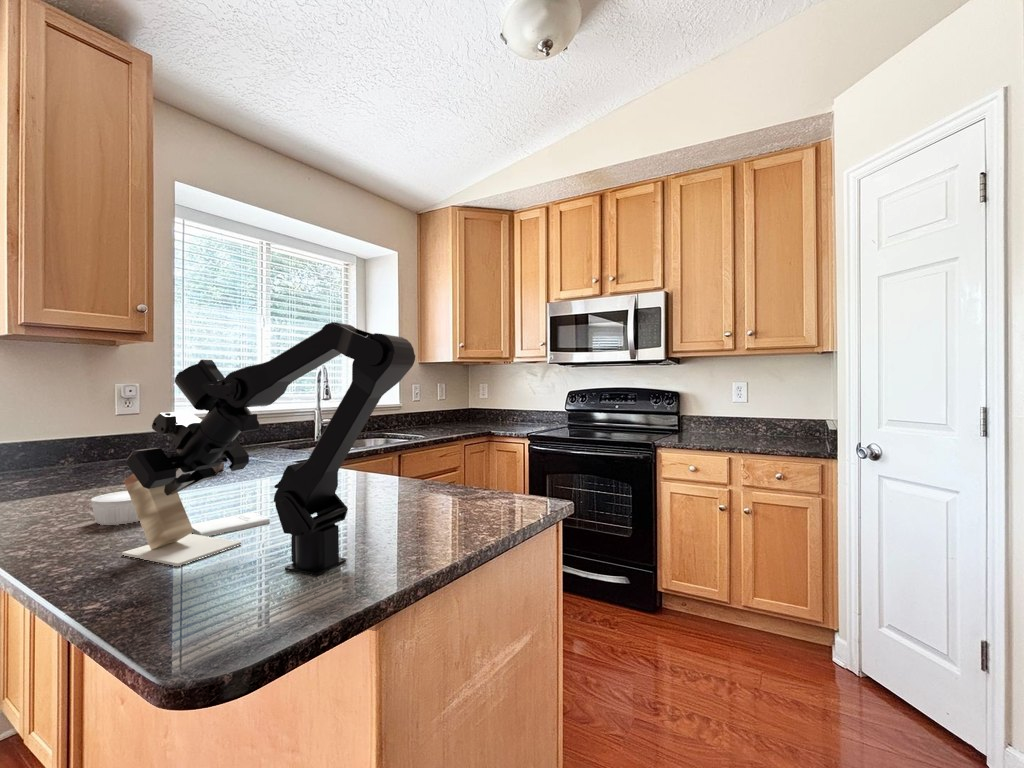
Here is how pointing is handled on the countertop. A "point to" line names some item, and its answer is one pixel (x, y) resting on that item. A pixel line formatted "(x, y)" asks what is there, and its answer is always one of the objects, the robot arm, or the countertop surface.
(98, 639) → the countertop surface
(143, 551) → the mat
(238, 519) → the external hard drive
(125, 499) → the ramekin
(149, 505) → the post
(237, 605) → the countertop surface
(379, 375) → the robot arm
